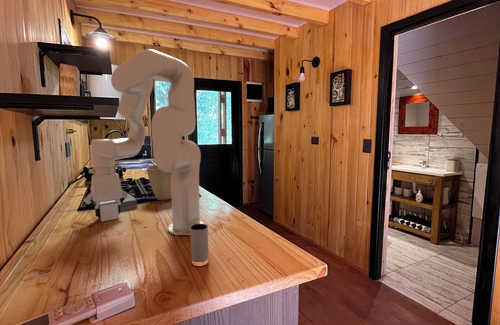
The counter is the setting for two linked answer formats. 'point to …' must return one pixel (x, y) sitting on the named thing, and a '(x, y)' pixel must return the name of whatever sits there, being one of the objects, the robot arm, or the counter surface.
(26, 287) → the counter surface
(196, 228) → the grey cylinder
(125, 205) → the charcoal block
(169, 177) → the plant pot
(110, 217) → the white cube
